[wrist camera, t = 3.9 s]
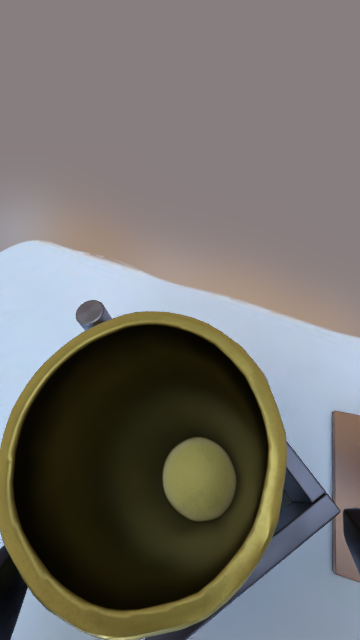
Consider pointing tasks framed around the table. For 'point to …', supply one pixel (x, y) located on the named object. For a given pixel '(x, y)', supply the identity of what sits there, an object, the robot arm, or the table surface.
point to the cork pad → (345, 486)
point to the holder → (294, 521)
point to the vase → (141, 475)
